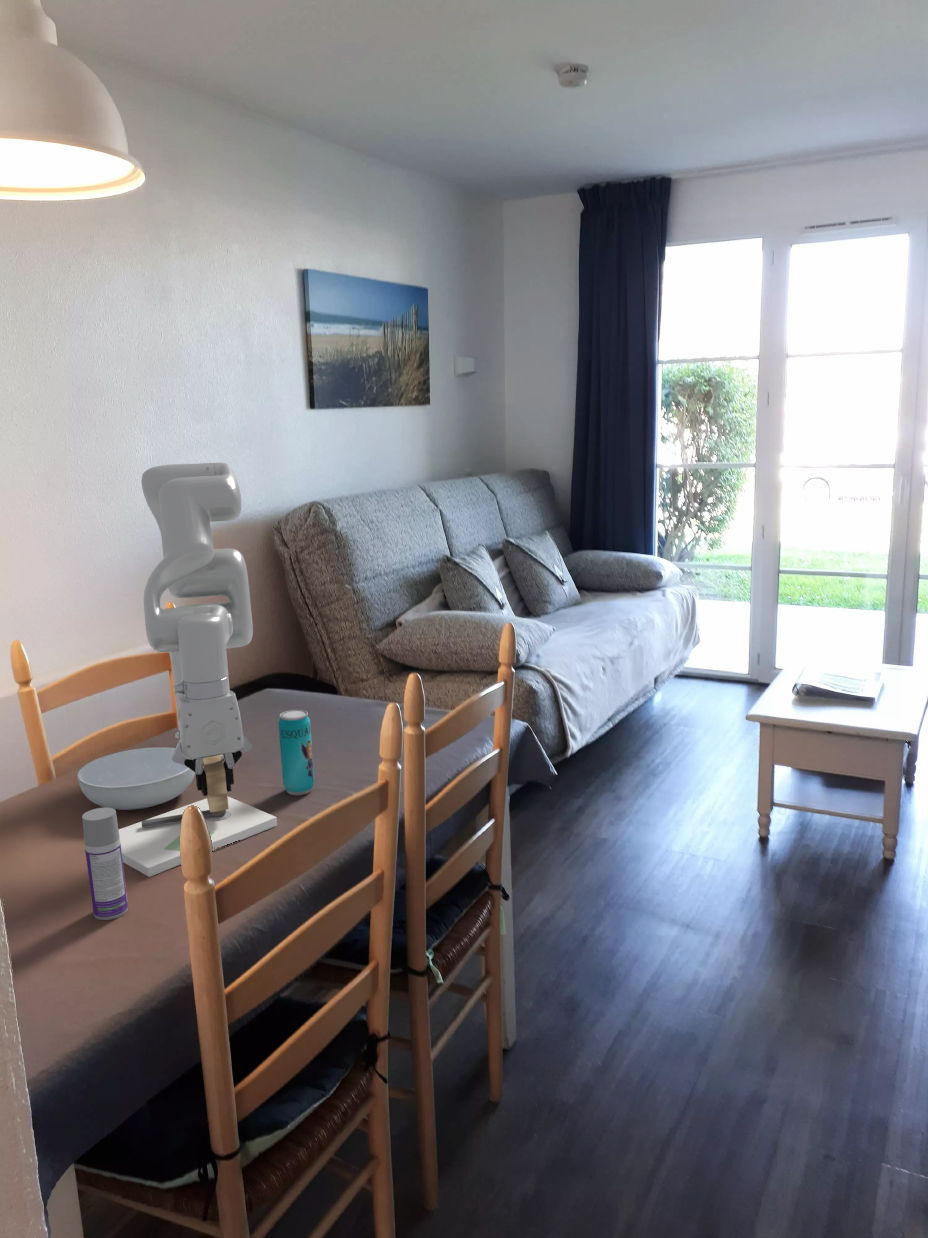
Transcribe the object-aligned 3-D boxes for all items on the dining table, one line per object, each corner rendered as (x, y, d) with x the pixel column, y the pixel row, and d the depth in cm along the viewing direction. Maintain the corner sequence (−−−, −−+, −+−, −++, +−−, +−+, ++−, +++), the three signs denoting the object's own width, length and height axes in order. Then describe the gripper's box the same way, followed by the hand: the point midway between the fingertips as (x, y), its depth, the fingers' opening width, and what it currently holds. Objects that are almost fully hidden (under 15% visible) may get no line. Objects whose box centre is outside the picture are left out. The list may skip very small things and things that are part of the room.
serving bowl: (223, 790, 182) (220, 755, 180) (135, 832, 164) (131, 794, 163) (146, 772, 192) (143, 739, 191) (56, 810, 175) (51, 775, 173)
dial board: (96, 846, 159) (95, 837, 159) (221, 801, 176) (220, 792, 176) (150, 878, 147) (149, 868, 147) (279, 826, 164) (278, 817, 164)
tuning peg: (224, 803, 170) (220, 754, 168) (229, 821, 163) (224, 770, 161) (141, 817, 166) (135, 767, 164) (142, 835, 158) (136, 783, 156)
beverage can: (308, 797, 176) (302, 719, 173) (279, 796, 177) (272, 718, 174) (319, 785, 182) (313, 709, 179) (290, 784, 183) (284, 708, 180)
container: (99, 905, 140) (86, 808, 137) (132, 902, 140) (120, 806, 137) (89, 921, 135) (76, 822, 132) (123, 919, 136) (111, 819, 132)
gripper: (158, 701, 154) (169, 808, 158) (260, 686, 161) (268, 789, 165) (152, 689, 161) (163, 793, 165) (250, 675, 168) (259, 775, 172)
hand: (216, 790), depth 165 cm, fingers closed on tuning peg, 3 cm apart
